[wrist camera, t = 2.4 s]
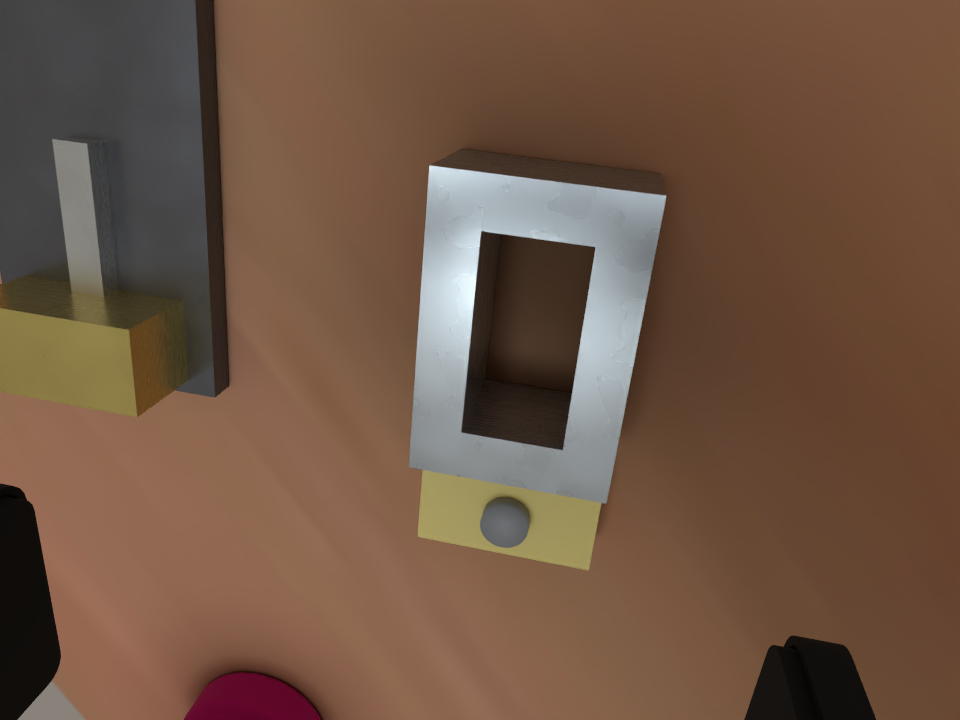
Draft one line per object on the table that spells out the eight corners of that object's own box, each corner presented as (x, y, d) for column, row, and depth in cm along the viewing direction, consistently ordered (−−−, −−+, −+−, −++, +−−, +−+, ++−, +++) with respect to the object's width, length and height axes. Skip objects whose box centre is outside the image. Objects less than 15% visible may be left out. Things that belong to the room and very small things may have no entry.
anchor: (604, 464, 26) (602, 505, 23) (591, 535, 27) (587, 581, 24) (437, 435, 26) (418, 472, 24) (431, 505, 27) (412, 547, 25)
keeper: (200, -297, 19) (69, -408, 15) (228, 386, 27) (148, 451, 23) (-66, -309, 20) (-265, -416, 16) (34, 352, 28) (-80, 407, 24)
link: (659, 173, 22) (666, 195, 18) (609, 439, 25) (606, 503, 21) (461, 148, 22) (429, 165, 19) (439, 410, 26) (408, 467, 22)
